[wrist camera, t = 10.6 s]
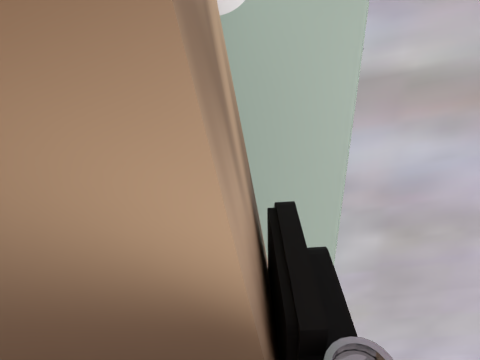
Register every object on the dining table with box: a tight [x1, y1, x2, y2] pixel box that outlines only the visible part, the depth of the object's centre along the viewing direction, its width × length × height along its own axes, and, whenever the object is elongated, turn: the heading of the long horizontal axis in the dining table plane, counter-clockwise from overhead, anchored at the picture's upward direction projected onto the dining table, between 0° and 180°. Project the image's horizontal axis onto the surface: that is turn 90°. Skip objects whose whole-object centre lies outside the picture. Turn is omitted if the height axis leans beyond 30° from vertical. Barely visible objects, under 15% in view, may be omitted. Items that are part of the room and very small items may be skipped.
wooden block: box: [0, 0, 279, 360], centre depth 9 cm, size 20×5×6 cm, turn 10°
